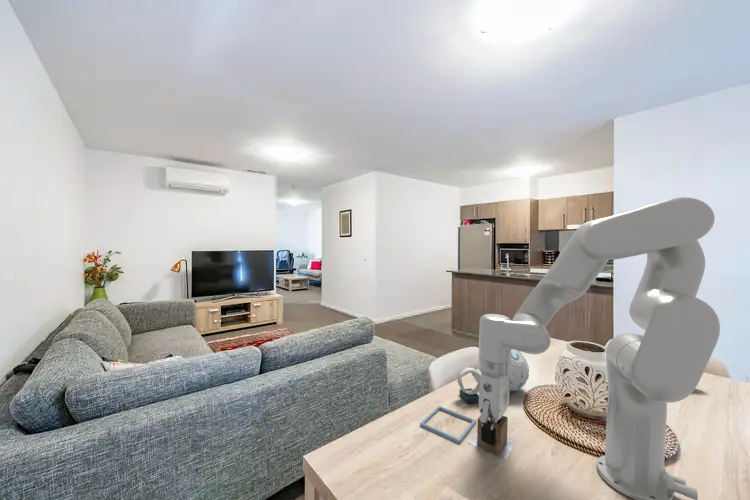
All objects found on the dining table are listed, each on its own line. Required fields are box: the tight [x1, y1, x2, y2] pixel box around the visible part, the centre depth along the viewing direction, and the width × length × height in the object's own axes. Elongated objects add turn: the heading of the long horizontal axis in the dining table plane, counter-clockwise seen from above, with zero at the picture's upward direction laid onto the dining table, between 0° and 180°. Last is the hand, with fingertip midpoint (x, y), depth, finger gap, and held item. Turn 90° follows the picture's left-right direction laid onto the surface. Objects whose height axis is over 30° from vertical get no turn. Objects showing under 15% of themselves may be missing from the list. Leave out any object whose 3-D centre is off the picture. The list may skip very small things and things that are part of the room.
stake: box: [467, 417, 517, 461], centre depth 74 cm, size 9×9×8 cm
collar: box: [476, 411, 509, 453], centre depth 74 cm, size 6×6×6 cm
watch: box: [456, 366, 481, 405], centre depth 95 cm, size 6×8×11 cm
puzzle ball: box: [509, 349, 530, 393], centre depth 104 cm, size 15×15×15 cm
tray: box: [419, 405, 477, 445], centre depth 81 cm, size 11×11×2 cm
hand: (492, 435), depth 74 cm, fingers closed on collar, 5 cm apart
